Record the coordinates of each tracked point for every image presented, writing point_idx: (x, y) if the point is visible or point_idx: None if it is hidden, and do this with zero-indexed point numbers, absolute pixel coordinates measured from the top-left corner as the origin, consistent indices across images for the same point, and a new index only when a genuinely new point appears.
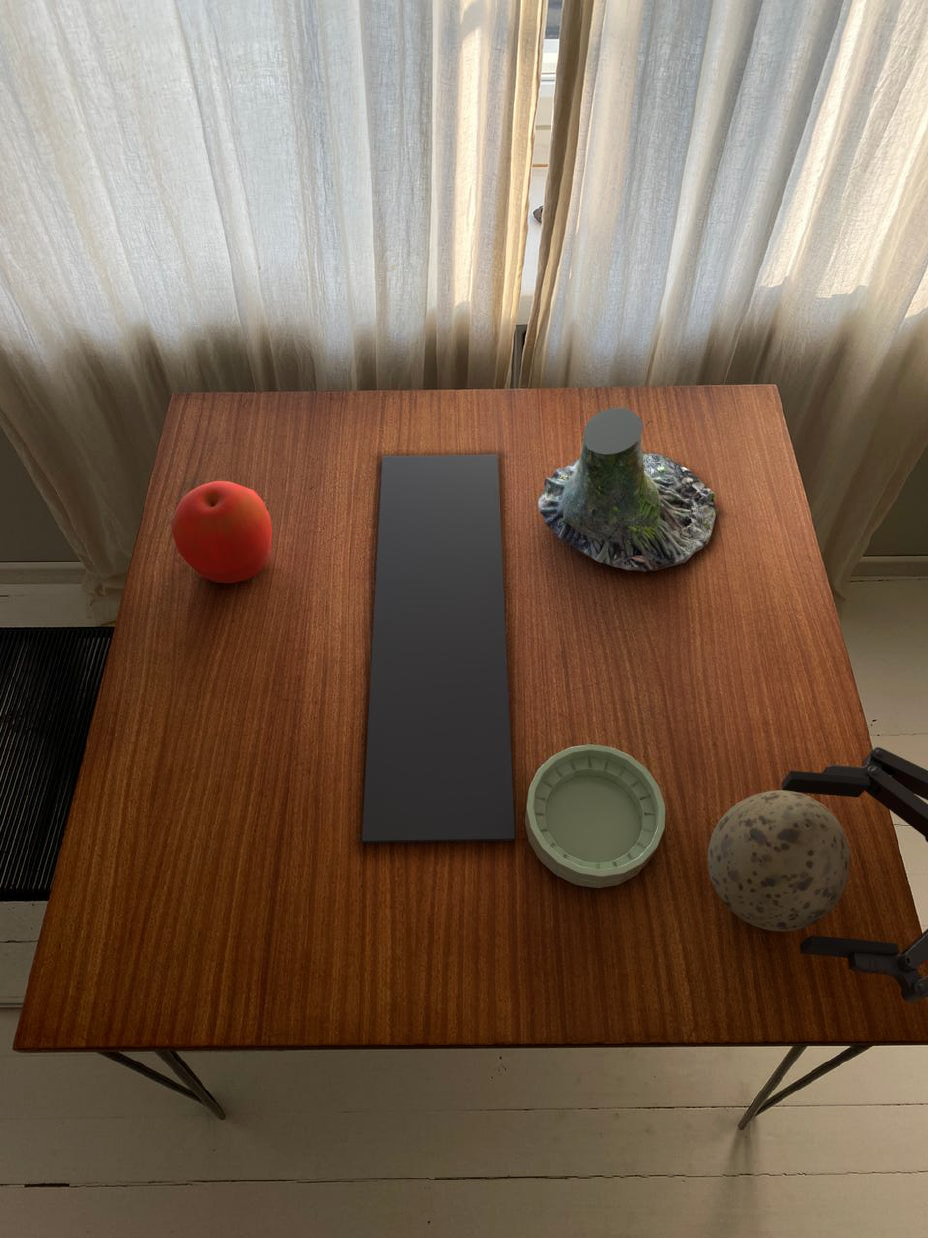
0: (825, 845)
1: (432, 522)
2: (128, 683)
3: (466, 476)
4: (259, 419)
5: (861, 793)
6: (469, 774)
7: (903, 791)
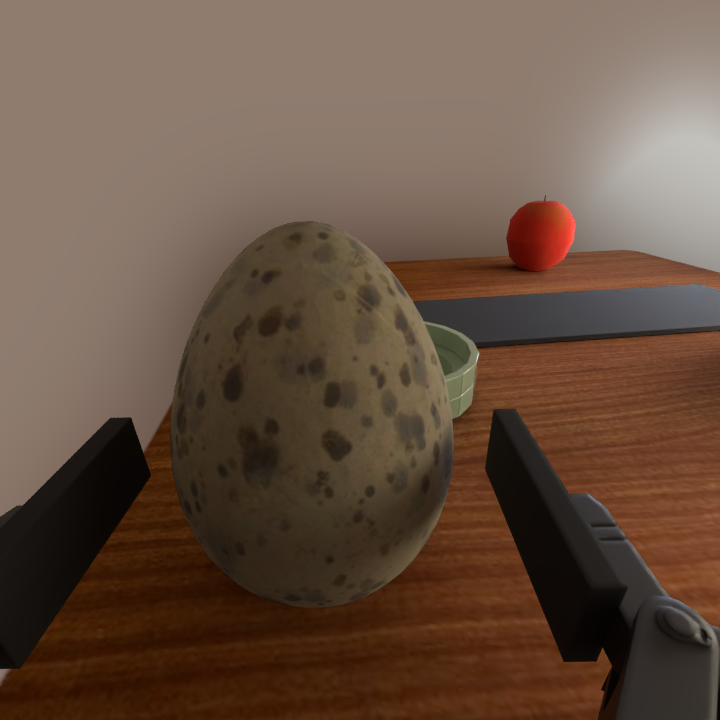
0: (252, 255)
1: (663, 302)
2: (432, 261)
3: None
4: (657, 261)
5: (571, 638)
6: None
7: None
